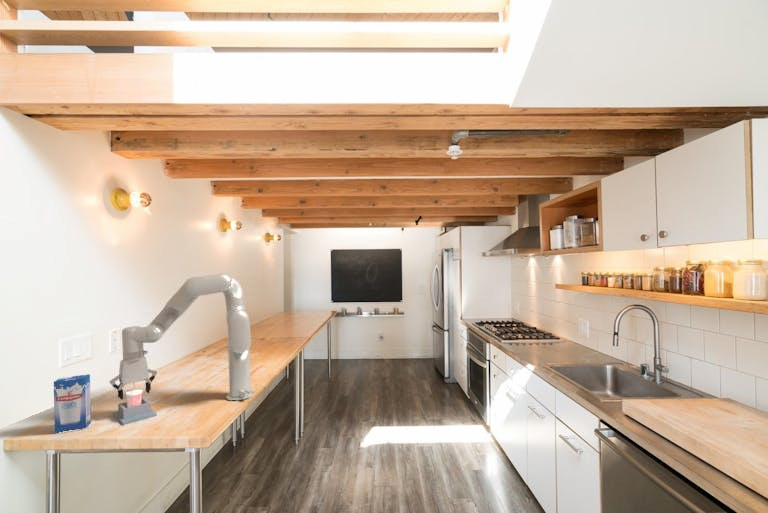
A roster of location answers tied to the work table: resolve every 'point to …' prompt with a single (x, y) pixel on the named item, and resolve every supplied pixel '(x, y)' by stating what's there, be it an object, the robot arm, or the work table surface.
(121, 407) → the grey cup holder
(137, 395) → the beverage cup
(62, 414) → the blue white food package
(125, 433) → the work table surface
